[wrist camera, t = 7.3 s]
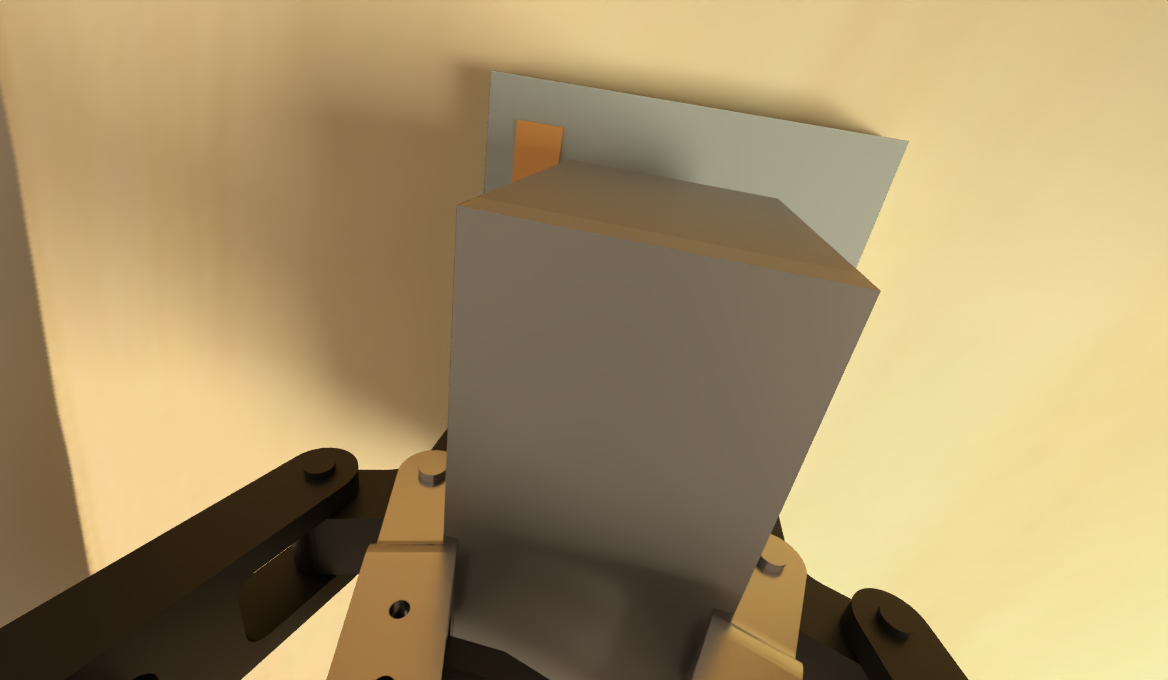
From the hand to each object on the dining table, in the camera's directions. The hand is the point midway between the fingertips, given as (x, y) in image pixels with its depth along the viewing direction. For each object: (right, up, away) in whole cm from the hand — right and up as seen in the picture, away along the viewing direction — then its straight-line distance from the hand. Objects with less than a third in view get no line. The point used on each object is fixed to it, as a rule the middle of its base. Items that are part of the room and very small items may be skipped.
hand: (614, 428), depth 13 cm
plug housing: (0, 0, +1) cm, 1 cm away
